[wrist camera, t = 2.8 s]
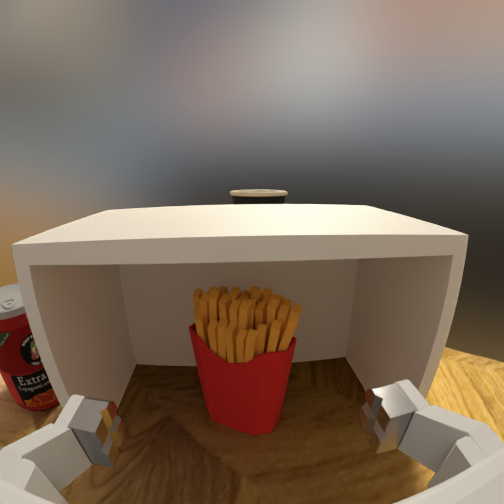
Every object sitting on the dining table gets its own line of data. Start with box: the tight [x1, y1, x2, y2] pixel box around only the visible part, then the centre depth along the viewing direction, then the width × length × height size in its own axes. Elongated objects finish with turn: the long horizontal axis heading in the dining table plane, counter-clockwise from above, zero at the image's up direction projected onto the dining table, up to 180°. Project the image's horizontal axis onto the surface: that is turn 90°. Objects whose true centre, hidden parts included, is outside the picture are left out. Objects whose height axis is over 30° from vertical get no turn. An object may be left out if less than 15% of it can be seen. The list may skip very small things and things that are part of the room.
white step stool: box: [12, 204, 468, 409], centre depth 23 cm, size 26×15×17 cm, turn 94°
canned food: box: [0, 283, 59, 411], centre depth 21 cm, size 8×8×11 cm
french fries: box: [189, 285, 303, 435], centre depth 22 cm, size 8×4×12 cm, turn 65°
